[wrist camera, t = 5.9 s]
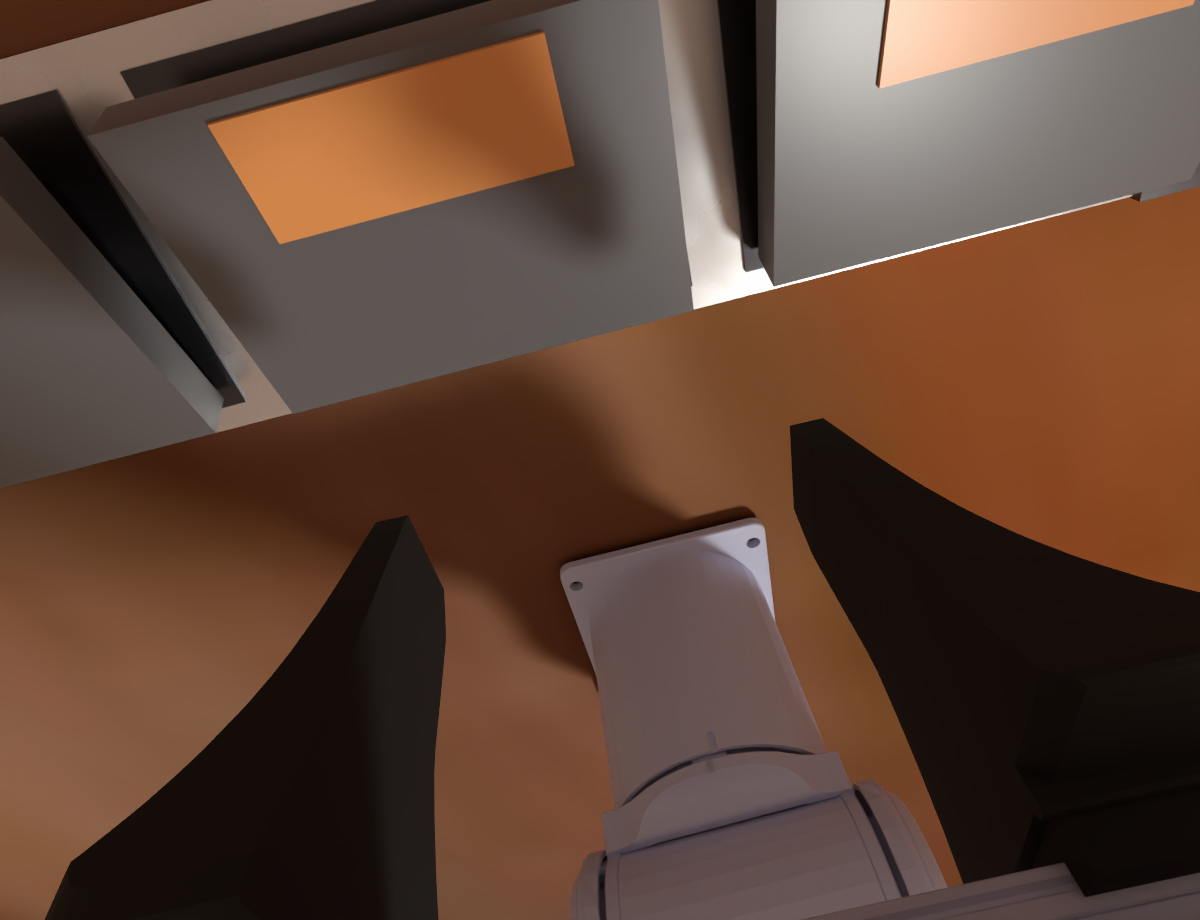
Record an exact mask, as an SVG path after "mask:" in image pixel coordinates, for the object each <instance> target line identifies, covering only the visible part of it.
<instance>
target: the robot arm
mask: <svg viewBox="0 0 1200 920" xmlns="http://www.w3.org/2000/svg"><path fill="white" fill-rule="evenodd" d="M790 436H791V457H792V478H793V498H794V510H795V512H796V515H797V518H798V520H799V523H800V525H801V528H802V530H803V533H804V535H805V538H806V540H807V542H808V545H809V547H810V550H811V552H812V554H813V556H814V558H815V560H816V562H817V564H818V565H819V567H820V569H821V571H822V573H823V574H824V576H825V578H826V580H827V581H828V583H829V585H830V587H831V589H832V590H833V592H834V594H835V596H836V597H837V599H838V601H839V603H840V604H841V606H842V608H843V610H844V611H845V613H846V615H847V617H848V618H849V620H850V622H851V624H852V625H853V627H854V629H855V631H856V632H857V634H858V636H859V638H860V639H861V641H862V643H863V645H864V646H865V648H866V650H867V652H868V654H869V656H870V658H871V660H872V662H873V664H874V666H875V668H876V670H877V671H878V674H879V676H880V678H881V680H882V683H883V685H884V687H885V690H886V692H887V694H888V696H889V699H890V701H891V703H892V706H893V708H894V710H895V712H896V715H897V717H898V719H899V722H900V724H901V727H902V729H903V731H904V734H905V736H906V738H907V741H908V743H909V746H910V748H911V750H912V753H913V755H914V758H915V760H916V762H917V765H918V767H919V770H920V772H921V775H922V777H923V780H924V782H925V785H926V787H927V790H928V792H929V795H930V797H931V800H932V803H933V805H934V808H935V810H936V813H937V815H938V818H939V820H940V823H941V825H942V828H943V830H944V833H945V836H946V839H947V841H948V844H949V847H950V849H951V852H952V855H953V857H954V860H955V863H956V865H957V868H958V871H959V873H960V876H961V879H962V881H963V884H961V885H957V886H952V887H948V888H947V885H946V883H945V881H944V878H943V876H942V874H941V871H940V869H939V867H938V865H937V863H936V860H935V858H934V856H933V854H932V852H931V850H930V848H929V846H928V844H927V842H926V840H925V838H924V836H923V834H922V832H921V830H920V828H919V826H918V825H917V823H916V821H915V819H914V818H913V816H912V814H911V813H910V811H909V810H908V808H907V807H906V805H905V804H904V803H903V801H902V800H901V799H900V798H899V797H898V796H896V795H895V794H893V793H891V792H889V791H888V790H886V789H884V788H882V787H881V786H880V784H878V783H877V782H876V781H874V780H872V779H867V780H863V781H860V782H856V783H853V788H852V786H851V783H850V781H849V778H848V776H847V773H846V771H845V769H844V766H843V764H842V761H841V759H840V757H839V754H838V752H836V751H830V752H827V749H826V747H825V745H824V742H823V740H822V737H821V735H820V732H819V730H818V727H817V725H816V722H815V720H814V717H813V715H812V712H811V710H810V707H809V705H808V702H807V700H806V697H805V695H804V693H803V690H802V688H801V685H800V683H799V680H798V678H797V675H796V673H795V670H794V668H793V665H792V663H791V660H790V658H789V655H788V653H787V650H786V648H785V645H784V643H783V641H782V638H781V636H780V633H779V631H778V628H777V626H776V623H775V616H774V607H773V599H772V590H771V581H770V572H769V563H768V555H767V546H766V537H765V529H764V527H763V524H762V522H761V521H760V520H759V519H757V518H747V519H743V520H738V521H734V522H730V523H726V524H722V525H718V526H714V527H710V528H706V529H702V530H698V531H694V532H690V533H686V534H682V535H678V536H674V537H670V538H666V539H661V540H657V541H653V542H649V543H645V544H641V545H637V546H633V547H629V548H625V549H621V550H617V551H613V552H609V553H605V554H601V555H597V556H593V557H589V558H585V559H580V560H576V561H572V562H569V563H566V564H564V565H563V566H562V567H561V569H560V579H561V582H562V585H563V588H564V590H565V593H566V596H567V598H568V601H569V604H570V607H571V609H572V612H573V615H574V617H575V620H576V623H577V625H578V628H579V631H580V634H581V636H582V639H583V642H584V644H585V647H586V650H587V652H588V655H589V658H590V661H591V663H592V666H593V669H594V671H595V674H596V677H597V684H598V692H599V699H600V706H601V713H602V720H603V728H604V735H605V742H606V749H607V756H608V764H609V771H610V778H611V785H612V792H613V800H614V807H615V810H612V811H608V812H605V813H603V814H602V824H603V833H604V841H605V850H601V851H597V852H594V853H590V854H589V855H587V857H586V858H585V860H584V861H583V864H582V867H581V870H580V873H579V875H578V877H577V879H576V881H575V883H574V885H573V888H572V892H571V897H570V906H569V920H1200V592H1196V591H1192V590H1188V589H1184V588H1180V587H1176V586H1172V585H1168V584H1164V583H1160V582H1156V581H1152V580H1149V579H1145V578H1142V577H1138V576H1135V575H1132V574H1129V573H1125V572H1122V571H1119V570H1115V569H1112V568H1109V567H1106V566H1102V565H1099V564H1096V563H1094V562H1091V561H1088V560H1085V559H1082V558H1079V557H1076V556H1073V555H1070V554H1068V553H1065V552H1062V551H1060V550H1057V549H1055V548H1052V547H1049V546H1047V545H1044V544H1042V543H1039V542H1036V541H1034V540H1031V539H1029V538H1027V537H1024V536H1022V535H1019V534H1017V533H1015V532H1012V531H1010V530H1008V529H1006V528H1004V527H1001V526H999V525H997V524H995V523H993V522H991V521H989V520H987V519H984V518H982V517H980V516H978V515H976V514H974V513H972V512H970V511H968V510H966V509H964V508H962V507H960V506H958V505H956V504H955V503H953V502H951V501H949V500H947V499H946V498H944V497H942V496H940V495H939V494H937V493H935V492H933V491H931V490H930V489H928V488H926V487H924V486H923V485H921V484H919V483H918V482H916V481H915V480H913V479H912V478H910V477H908V476H907V475H905V474H904V473H902V472H901V471H899V470H897V469H896V468H894V467H893V466H891V465H890V464H888V463H887V462H885V461H884V460H882V459H881V458H879V457H878V456H876V455H875V454H873V453H872V452H871V451H869V450H868V449H866V448H865V447H863V446H862V445H860V444H859V443H858V442H856V441H855V440H853V439H852V438H851V437H849V436H848V435H846V434H845V433H844V432H842V431H841V430H839V429H838V428H836V427H835V426H834V425H832V424H831V423H829V422H828V421H826V420H825V419H823V418H822V419H817V420H813V421H809V422H804V423H800V424H796V425H792V426H790ZM751 538H755V539H754V540H752V541H748V540H749V539H751ZM577 581H579V583H577V584H573V582H577ZM445 642H446V627H445V602H444V589H443V587H442V585H441V583H440V581H439V579H438V577H437V575H436V572H435V570H434V568H433V566H432V564H431V562H430V560H429V558H428V556H427V554H426V552H425V550H424V548H423V546H422V544H421V542H420V540H419V538H418V535H417V533H416V531H415V529H414V527H413V525H412V523H411V521H410V519H409V517H408V515H407V516H402V517H398V518H394V519H389V520H385V521H381V522H377V523H375V525H374V526H373V528H372V530H371V531H370V533H369V534H368V536H367V537H366V539H365V541H364V542H363V544H362V545H361V547H360V549H359V550H358V552H357V553H356V555H355V557H354V558H353V560H352V561H351V563H350V565H349V566H348V568H347V570H346V571H345V573H344V574H343V576H342V578H341V579H340V581H339V582H338V584H337V585H336V587H335V589H334V590H333V592H332V593H331V595H330V596H329V598H328V599H327V601H326V602H325V604H324V605H323V607H322V609H321V610H320V612H319V613H318V614H317V616H316V617H315V619H314V620H313V621H312V623H311V624H310V626H309V627H308V628H307V630H306V631H305V633H304V634H303V635H302V637H301V638H300V640H299V641H298V642H297V644H296V645H295V646H294V648H293V649H292V651H291V652H290V653H289V655H288V656H287V657H286V659H285V660H284V661H283V662H282V664H281V665H280V666H279V667H278V669H277V670H276V671H275V672H274V674H273V675H272V676H271V677H270V678H269V680H268V681H267V682H266V683H265V684H264V685H263V687H262V688H261V689H260V690H259V691H258V692H257V694H256V695H255V696H254V697H253V698H252V699H251V700H250V702H249V703H248V704H247V705H246V706H245V707H244V708H243V709H242V710H241V711H240V712H239V713H238V714H237V716H236V717H235V718H234V719H233V720H232V721H231V722H230V723H229V724H228V725H227V726H226V727H225V728H224V729H223V730H222V731H221V732H220V733H219V734H218V735H217V736H216V737H215V738H214V739H213V740H212V741H211V742H210V743H209V744H208V745H207V747H206V748H205V749H204V750H203V751H202V752H200V753H199V754H198V755H197V756H196V757H195V758H194V759H193V760H192V761H191V762H190V763H189V764H188V765H187V766H186V767H185V768H184V769H182V770H181V771H180V772H179V773H178V774H177V775H176V776H175V777H174V778H173V779H172V780H170V781H169V782H168V783H167V784H166V785H165V786H164V787H163V788H161V789H160V790H159V791H158V792H157V793H156V794H155V795H153V796H152V797H151V798H150V799H149V800H148V801H147V802H145V803H144V804H143V805H142V806H141V807H139V808H138V809H137V810H136V811H135V812H134V813H132V814H131V815H130V816H129V817H127V818H126V819H125V820H124V821H122V822H121V823H120V824H119V825H117V826H116V827H115V828H114V829H112V830H111V831H110V832H109V833H107V834H106V835H105V836H104V837H102V838H101V839H100V840H98V841H97V842H96V843H95V844H93V845H92V846H91V847H90V848H88V849H87V850H86V851H85V852H83V853H82V854H81V855H79V856H78V857H77V858H75V859H74V860H73V861H71V863H70V865H69V867H68V869H67V871H66V873H65V875H64V878H63V880H62V882H61V884H60V886H59V889H58V891H57V893H56V895H55V898H54V900H53V902H52V904H51V907H50V909H49V911H48V913H47V916H46V918H45V920H438V905H437V885H436V858H435V823H434V765H435V747H436V737H437V727H438V717H439V706H440V696H441V686H442V676H443V665H444V654H445Z"/></svg>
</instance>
